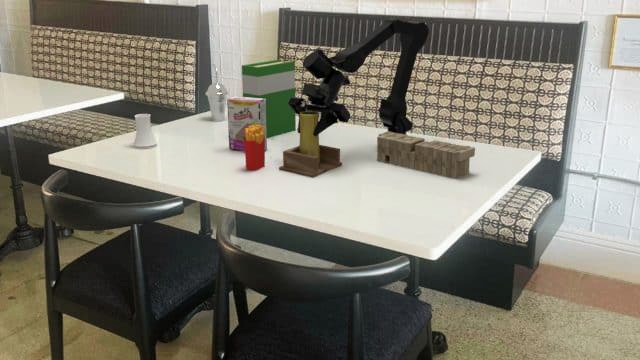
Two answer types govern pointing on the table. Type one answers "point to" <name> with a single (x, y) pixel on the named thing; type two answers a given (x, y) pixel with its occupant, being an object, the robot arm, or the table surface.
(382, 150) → the block tower
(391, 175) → the table surface
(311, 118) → the vase
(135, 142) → the vase
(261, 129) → the french fries
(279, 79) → the hardback book
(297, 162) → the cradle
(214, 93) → the cup with straw
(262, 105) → the candy bar box
